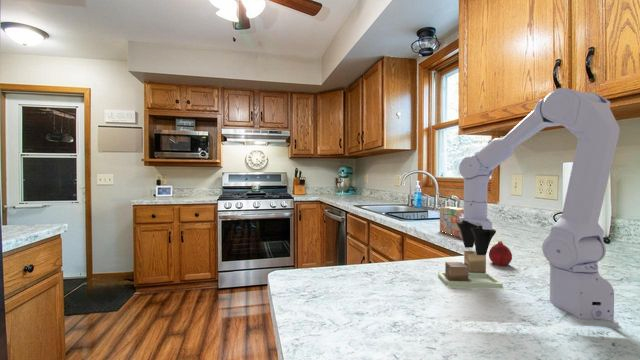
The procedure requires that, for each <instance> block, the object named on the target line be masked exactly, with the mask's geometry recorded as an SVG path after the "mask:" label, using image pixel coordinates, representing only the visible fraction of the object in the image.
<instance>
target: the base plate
mask: <svg viewBox="0 0 640 360" xmlns="http://www.w3.org/2000/svg"><path fill="white" fill-rule="evenodd" d="M435 274H436V276H438V278H439V279H440V280H441V281H442V282H443V284H445V286H446V287H447V288H448V289H465V290H466V289H469V290H491V291H492V290H495V291H496V290H498V291H501V290H502V291H509V289H508V288H506V287H505V286H504V282H503V281H501V280H500V279H498V278H497V277H496V276H494V275H493V274H489V273H487V272H486V273H470V272H468V281H449V280H448V279H447V278H446V277H445V272H444V271H438V272H435Z"/></svg>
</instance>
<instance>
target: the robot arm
mask: <svg viewBox="0 0 640 360" xmlns="http://www.w3.org/2000/svg"><path fill="white" fill-rule="evenodd" d="M610 106H611V101H610V100H609V99H606V98H605V97H603V96H602V95H600V94H599V93H597V92H592V91H591V92H588V91H587V92H586V91H581V90H575V89H571V88H567V87H560V88H556V89H554V90H552V91H550V92H549V93H548V94H547V95H546V96H545V97H544V98H542V99H541V100H539V101H537V102H536V104H535V106H534V108H533V110H532V111H531V112H529V113H528V114H527V116H525V117H524V118H523V119H522V120H521V121H520V122H519V123H518V124H516V125H515V126H514V127H513V128H512V129H511V130H510V131H509V132H508V133H506V135H505V136H503V137H502V138H501V137H495V138H494V139H489V140H488V141H487V144H486V145H485V146H484V147H483V148H482V149H480V150H479V151H476V152H475V153H474V155H472V156H465V157H463V159H462V160H461V162H460V163H459V167H458V170H459V173H460V176H462V177H463V209H464V214H461V217H459V219H460V220H462V222H457V225H458V227H459V229H460V231H461V234H462V238H463V239H462V241H463V242H462V243H463V245H464V248H467V249H468V248H469V249H470V248H471V249H472V248H475V251H476V254H477V255H486V256H487V253H488V250H489V247H490V246H489V245H490V244H491V241H492V238H494V236H495V234H496V233H497V230H496V229H494V228H493V221H491V220H489V218H488V185H489V183H490V177H491V176H492V175H493V173H494V169H495V168H497V167H498V166H499V165H501V164H503V163H504V162H506V161H507V160H508V159H510V158H511V157H512V156H513V155H514V150H515V148H516V147H518V146H519V145H520V144H522V143H524V142H525V141H527V140H528V139H530V138H532V137H534V136H535V135H536V134H537V133H539V132H541V131H542V130H544V129H545V128H551V127H552V128H553V127H559V126H561V127H565V128H566V129H567V130H568V131H569V132H570V133H571V134H573V135H574V136H575V137H576V138H577V142H576V143H577V144H576V148H575V152H574V157H573V161H572V166H571V171H570V176H569V179H568V180H569V181H568V184H567V185H568V186H567V190H566V195H565V199H564V203H563V209H562V213H561V217H560V218H559V219H558V220H557V221H556V222H555V223H554V224H553V225H552V227H551V229H550V233H549V235H548V236H547V237H546V238H545V239H544V240H543V243H542V246H541V247H542V252H543V256H544V257H545V259H546V260H547V262H549V302H550V304H552V305H553V306H555V307H558V309H559V308H560V309H562V310H564V311H566V312H567V313H569V314H571V315H572V316H575V318H578V319H580V320H581V319H585V320H607V321H608V320H609V321H610V322H612V323H614V324H615V325H617V326H619V325H620V323H619V321H617V320H615V318H614V316H615V312H614V311H615V290H614V287H613V286H612V284H611V283H610V281H608V280H606V279H605V278H604V277H603V276H602V275H600V273H599V262H600V261H602V260H604V258H605V256H606V253H607V248H606V245H605V242H604V235H605V231H604V229H603V227H602V226H601V225H600V224H599V220H600V216H601V212H602V207H603V204H604V198H605V195H606V191H607V187H608V182H609V178H610V174H611V170H612V166H613V161H614V157H615V153H616V148H617V145H618V140H619V136H620V129H621V128H620V126H619V123H618V122H617V120H616V118H615V116H614V114H613V111H612V110H611V108H610Z"/></svg>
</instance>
